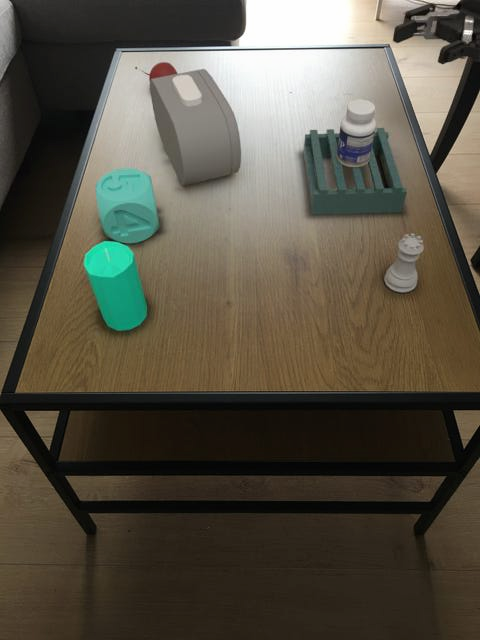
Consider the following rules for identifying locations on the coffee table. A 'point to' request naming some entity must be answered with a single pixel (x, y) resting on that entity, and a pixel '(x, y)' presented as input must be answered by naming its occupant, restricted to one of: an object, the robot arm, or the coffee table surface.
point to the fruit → (161, 70)
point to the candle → (116, 285)
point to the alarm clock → (196, 126)
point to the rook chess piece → (405, 265)
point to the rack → (359, 197)
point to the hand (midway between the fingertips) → (417, 45)
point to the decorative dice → (127, 205)
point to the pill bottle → (356, 134)
